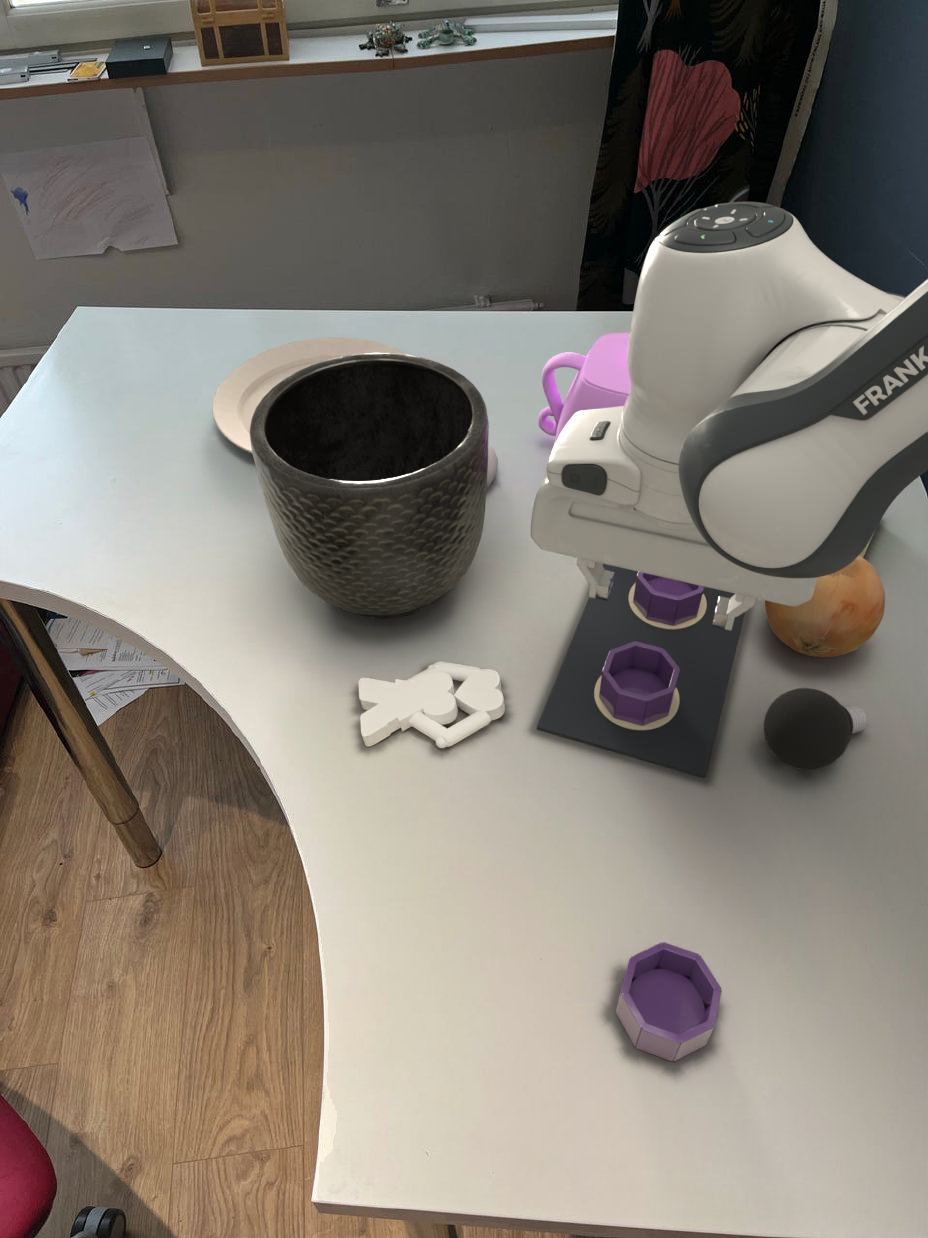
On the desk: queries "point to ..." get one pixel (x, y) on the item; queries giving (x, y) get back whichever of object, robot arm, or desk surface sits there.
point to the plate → (276, 379)
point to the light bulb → (810, 728)
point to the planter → (374, 478)
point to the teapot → (587, 381)
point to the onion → (833, 613)
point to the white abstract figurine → (431, 703)
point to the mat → (697, 692)
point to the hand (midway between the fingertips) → (660, 608)
